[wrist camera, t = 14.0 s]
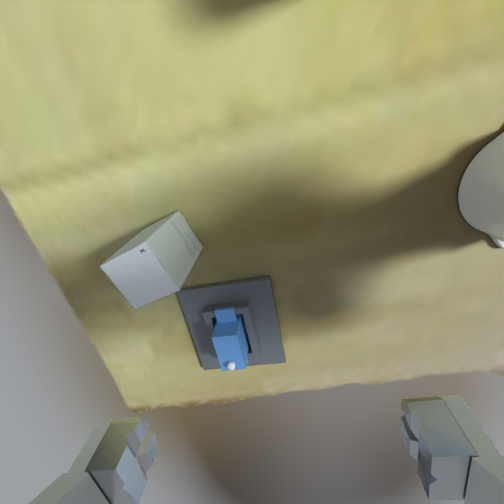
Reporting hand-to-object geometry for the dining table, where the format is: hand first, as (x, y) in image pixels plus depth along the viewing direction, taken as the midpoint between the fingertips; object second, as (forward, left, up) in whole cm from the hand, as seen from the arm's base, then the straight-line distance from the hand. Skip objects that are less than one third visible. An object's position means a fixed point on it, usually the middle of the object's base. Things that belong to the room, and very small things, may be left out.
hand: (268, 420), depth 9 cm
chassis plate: (+11, +23, -35) cm, 43 cm away
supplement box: (+17, +5, -35) cm, 40 cm away
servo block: (+11, +23, -34) cm, 43 cm away
